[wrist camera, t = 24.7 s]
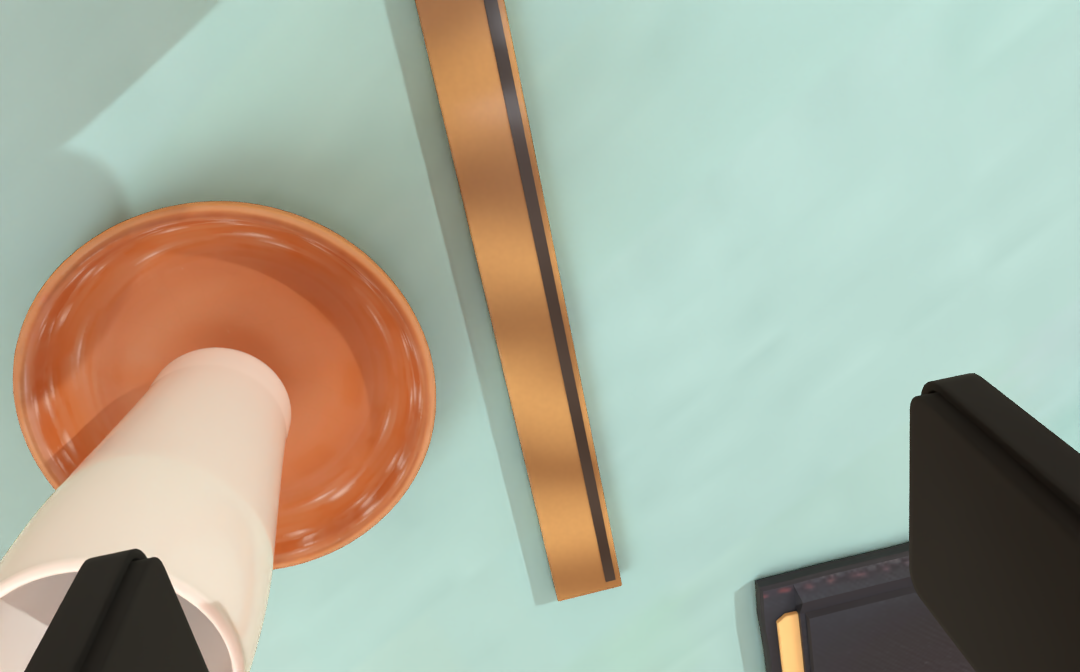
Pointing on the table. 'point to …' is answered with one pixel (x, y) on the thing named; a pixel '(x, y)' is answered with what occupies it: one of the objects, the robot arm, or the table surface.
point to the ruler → (521, 283)
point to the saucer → (246, 325)
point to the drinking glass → (168, 507)
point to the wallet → (852, 619)
